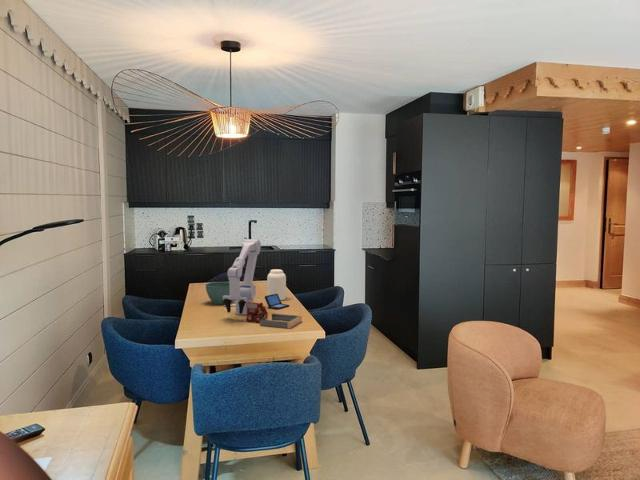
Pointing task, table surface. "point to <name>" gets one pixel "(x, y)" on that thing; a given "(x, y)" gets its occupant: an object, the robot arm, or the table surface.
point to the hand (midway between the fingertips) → (234, 312)
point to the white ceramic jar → (276, 283)
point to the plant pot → (218, 291)
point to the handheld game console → (274, 302)
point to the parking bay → (292, 318)
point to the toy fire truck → (256, 312)
